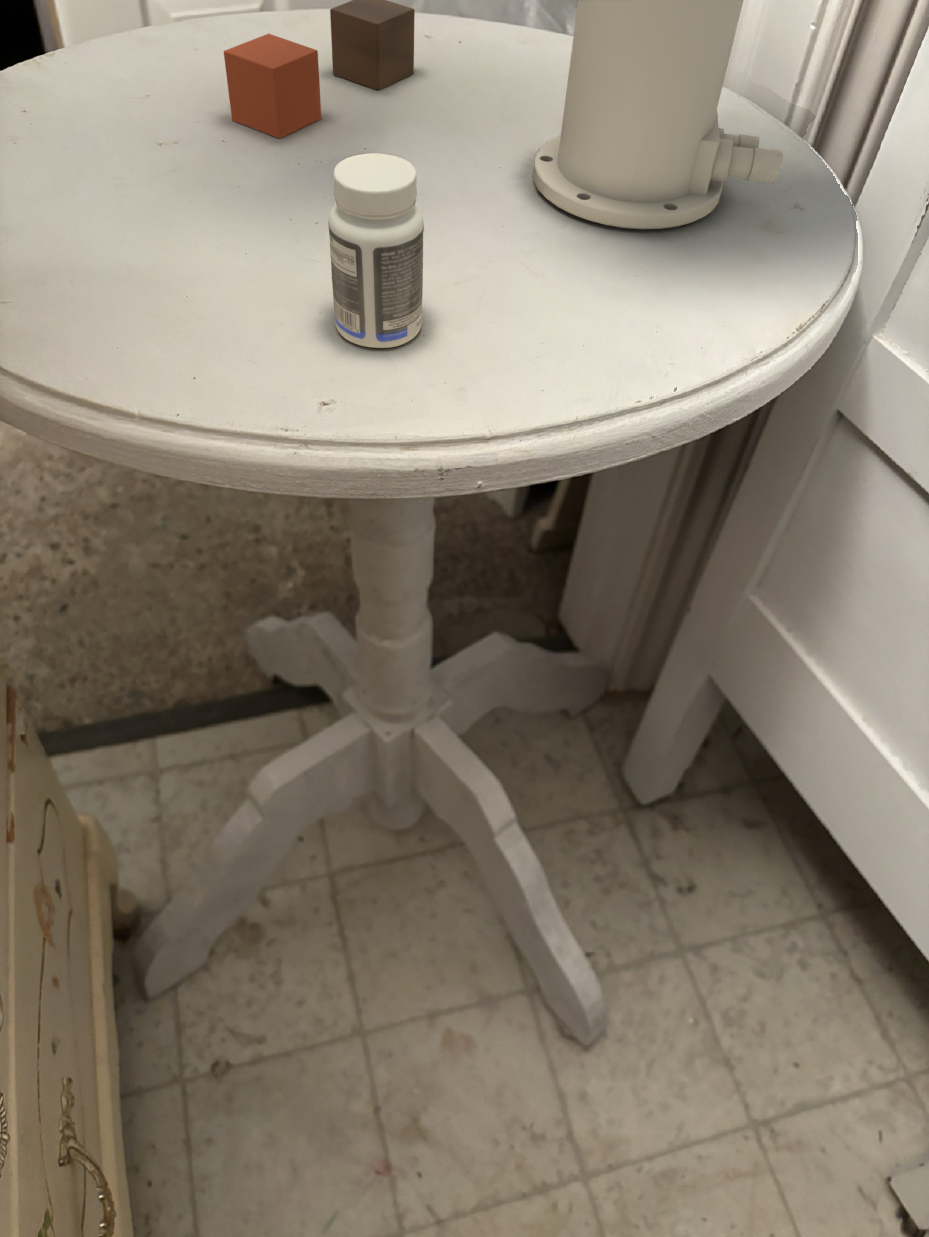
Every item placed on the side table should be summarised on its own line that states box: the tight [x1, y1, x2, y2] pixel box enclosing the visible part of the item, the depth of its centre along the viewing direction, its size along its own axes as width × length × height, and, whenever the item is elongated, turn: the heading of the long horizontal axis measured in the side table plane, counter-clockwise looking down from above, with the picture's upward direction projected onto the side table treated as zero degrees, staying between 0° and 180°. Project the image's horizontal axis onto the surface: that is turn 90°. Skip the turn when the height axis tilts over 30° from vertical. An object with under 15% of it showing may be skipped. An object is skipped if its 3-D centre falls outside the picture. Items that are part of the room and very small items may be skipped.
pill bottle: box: [327, 152, 425, 349], centre depth 49 cm, size 5×5×8 cm
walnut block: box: [329, 0, 416, 91], centre depth 73 cm, size 4×4×4 cm
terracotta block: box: [223, 33, 322, 139], centre depth 66 cm, size 4×4×4 cm
